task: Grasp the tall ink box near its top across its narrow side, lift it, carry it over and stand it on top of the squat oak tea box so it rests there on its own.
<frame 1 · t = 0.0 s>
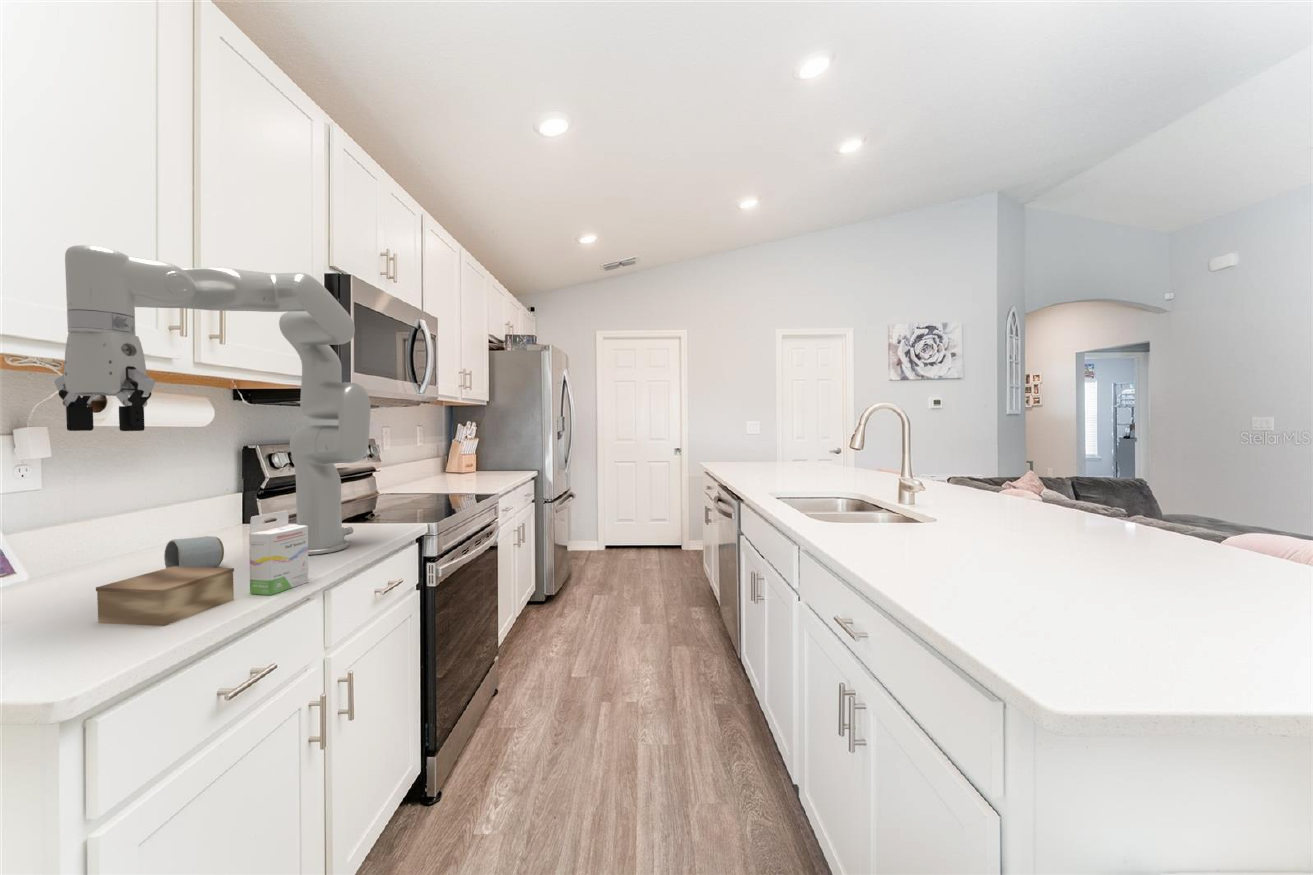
hand: (106, 430, 84), 31 cm above the countertop, fingers open, 9 cm apart
ink box: (280, 588, 100), on the countertop
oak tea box: (170, 612, 88), on the countertop
ceramic mug: (190, 571, 111), on the countertop
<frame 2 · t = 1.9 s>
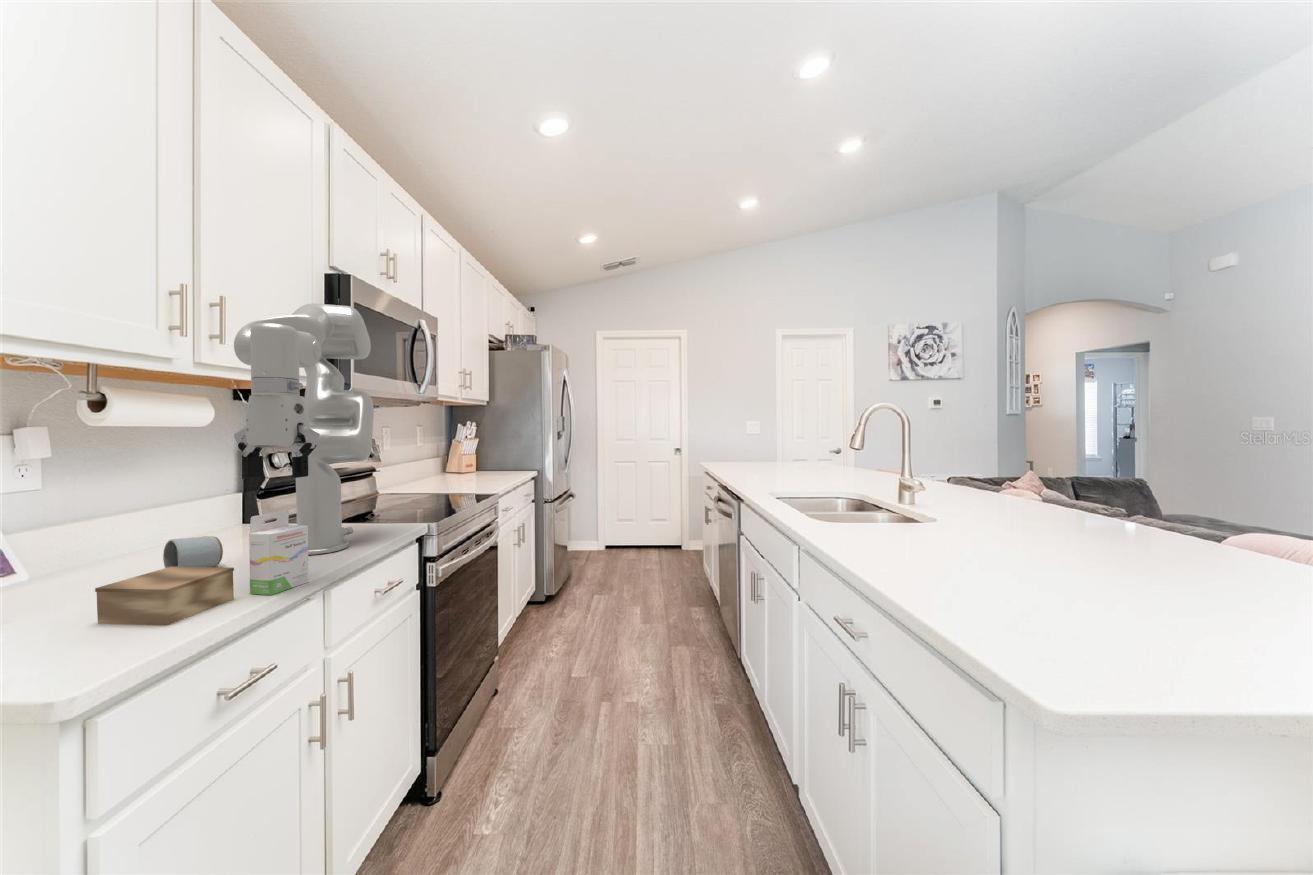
hand: (277, 476, 99), 22 cm above the countertop, fingers open, 9 cm apart
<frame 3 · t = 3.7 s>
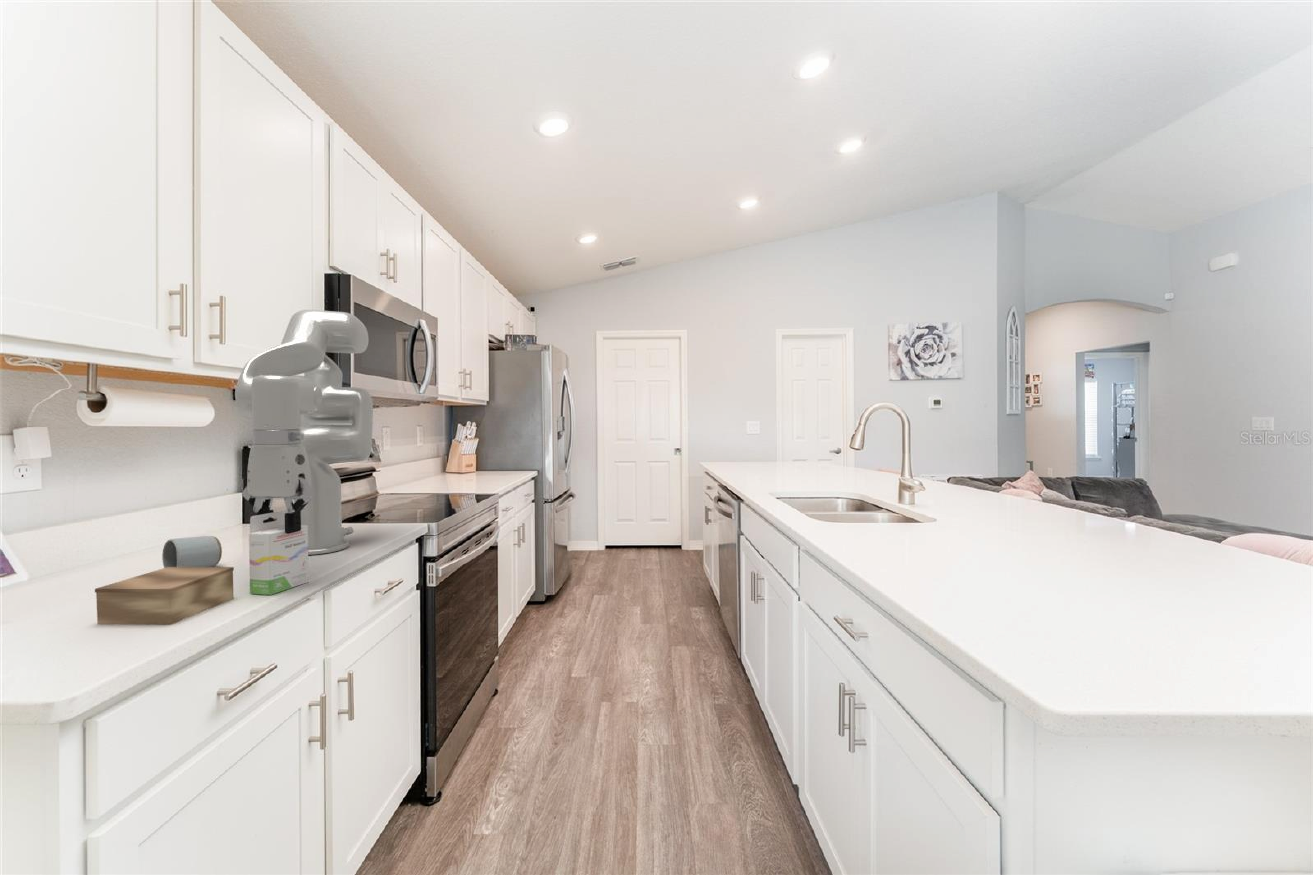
hand: (279, 530, 99), 11 cm above the countertop, fingers closed on ink box, 5 cm apart
ink box: (280, 588, 100), on the countertop, touching gripper
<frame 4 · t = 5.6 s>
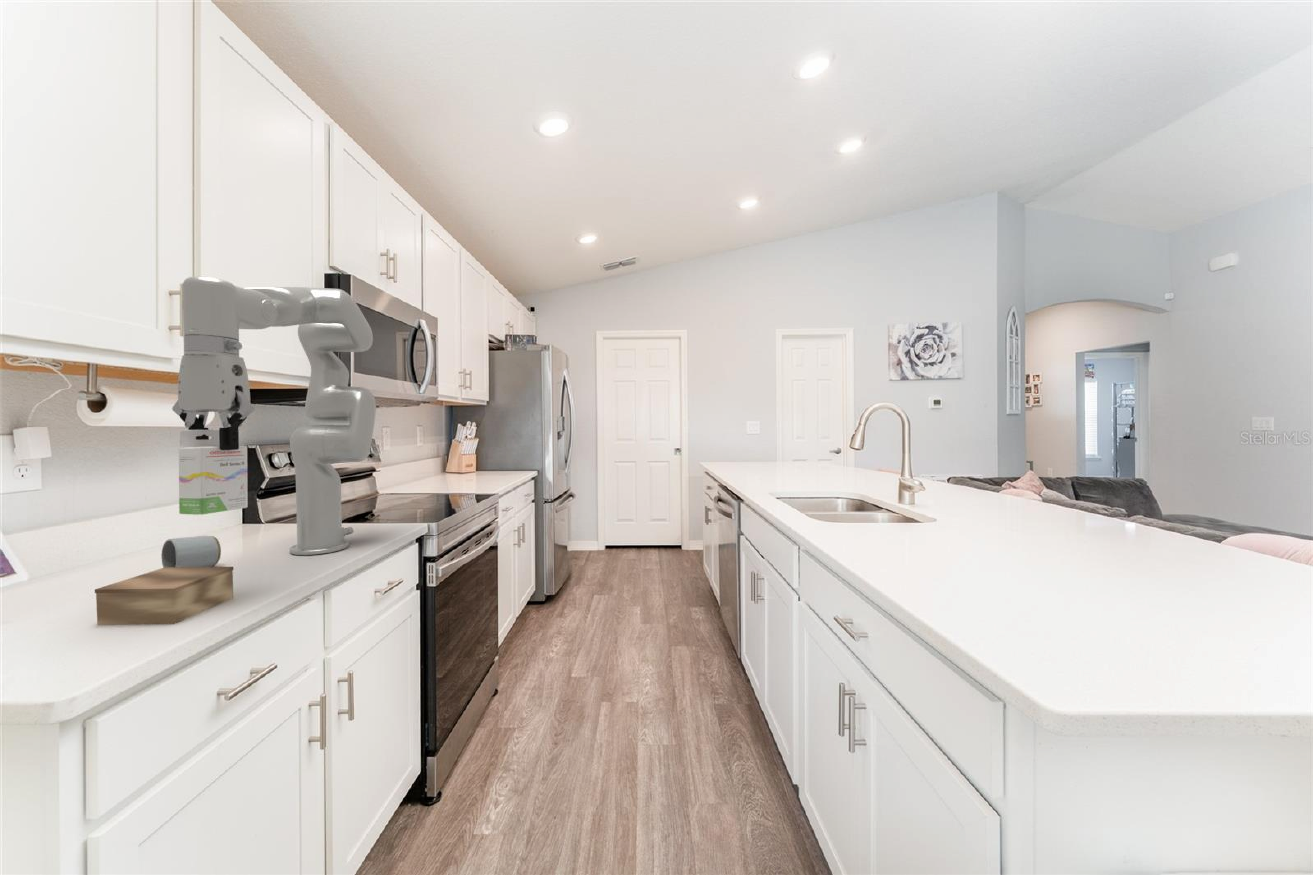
hand: (214, 448, 92), 28 cm above the countertop, fingers closed on ink box, 5 cm apart
ink box: (215, 512, 92), point 16 cm above the countertop, touching gripper
when the fingers open (18 cm above the countertop, at t = 7.6 s): ink box stays where it is, resting on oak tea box.
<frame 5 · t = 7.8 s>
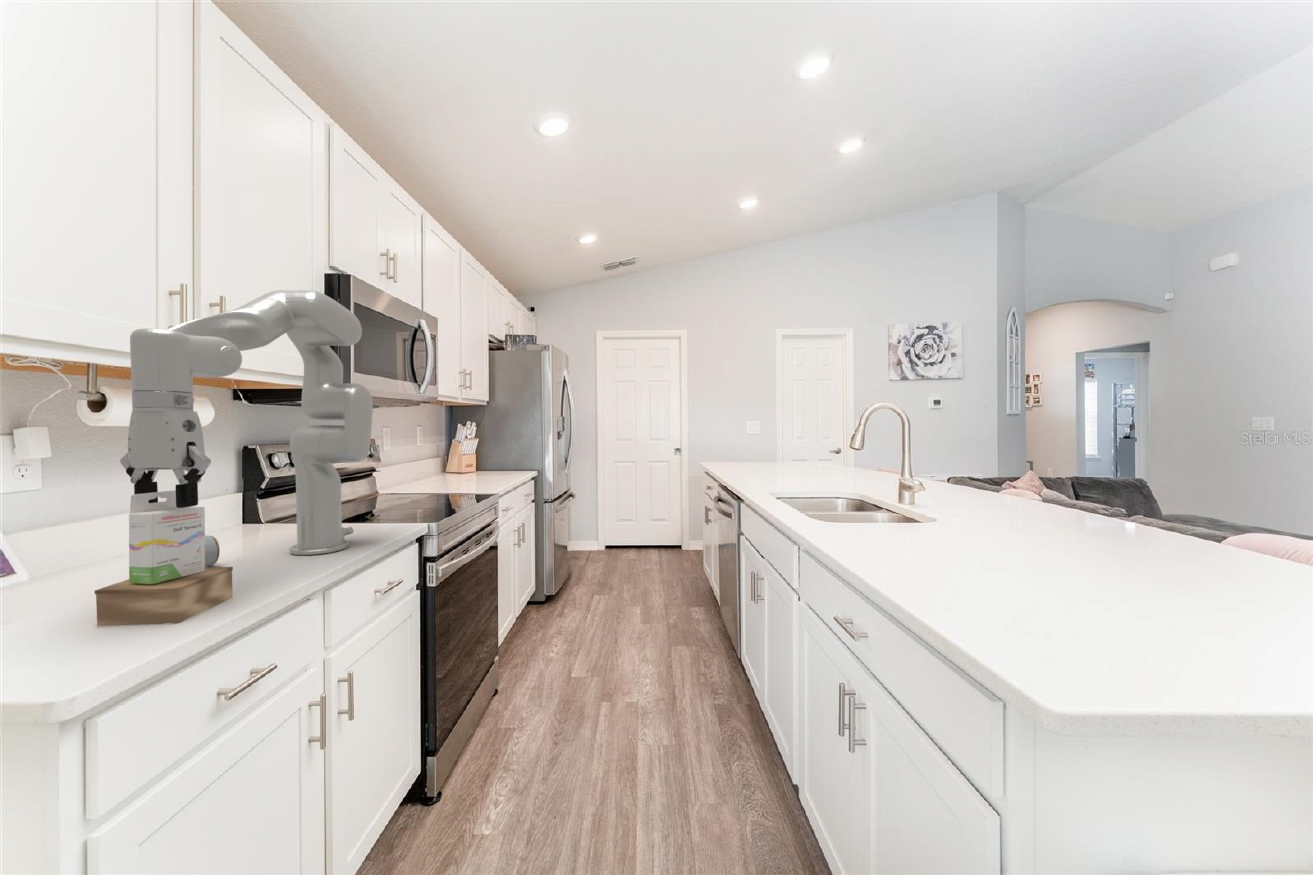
hand: (166, 505, 87), 18 cm above the countertop, fingers open, 7 cm apart
ink box: (169, 578, 88), point 6 cm above the countertop, touching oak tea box
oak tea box: (170, 612, 88), on the countertop, touching ink box
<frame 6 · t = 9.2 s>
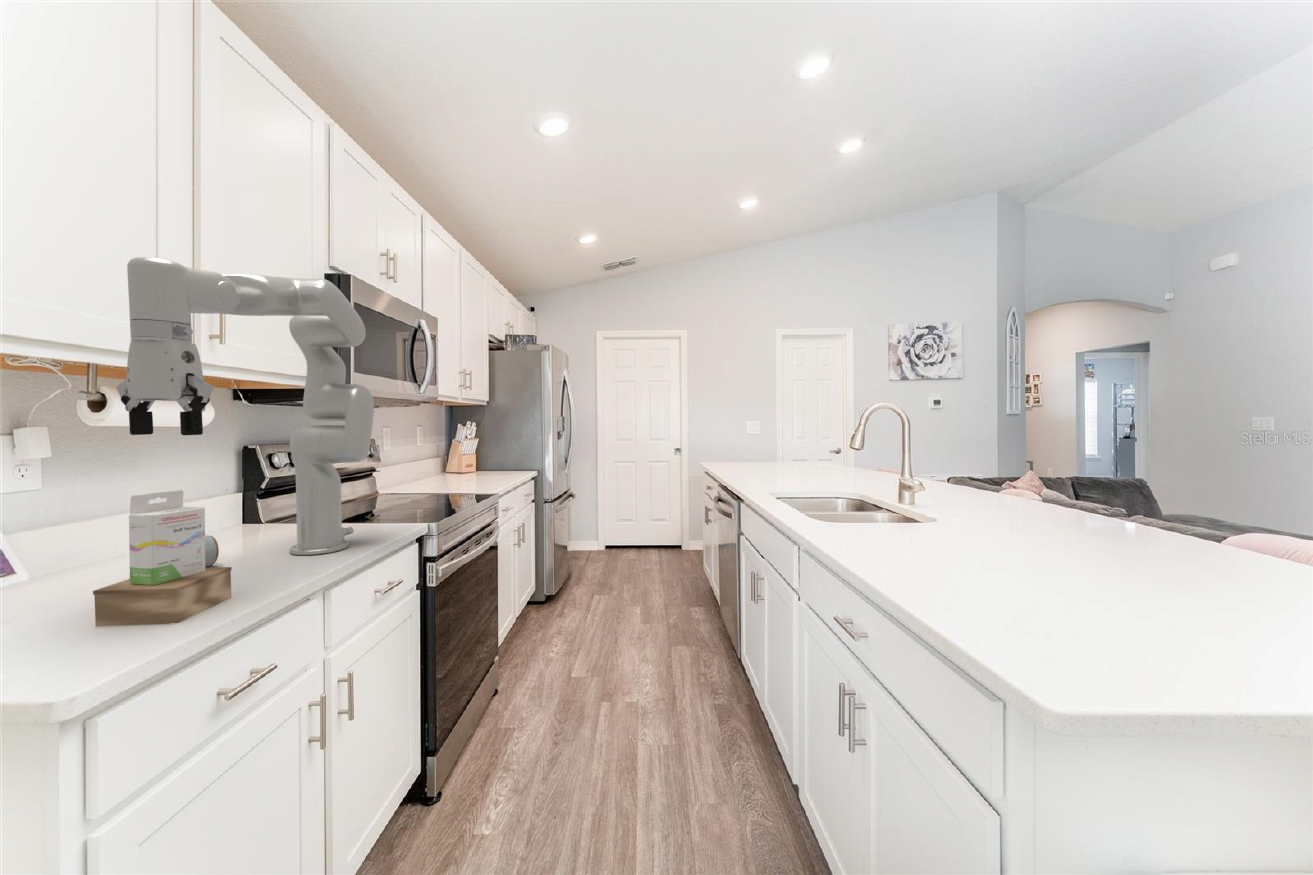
hand: (166, 434, 87), 30 cm above the countertop, fingers open, 9 cm apart
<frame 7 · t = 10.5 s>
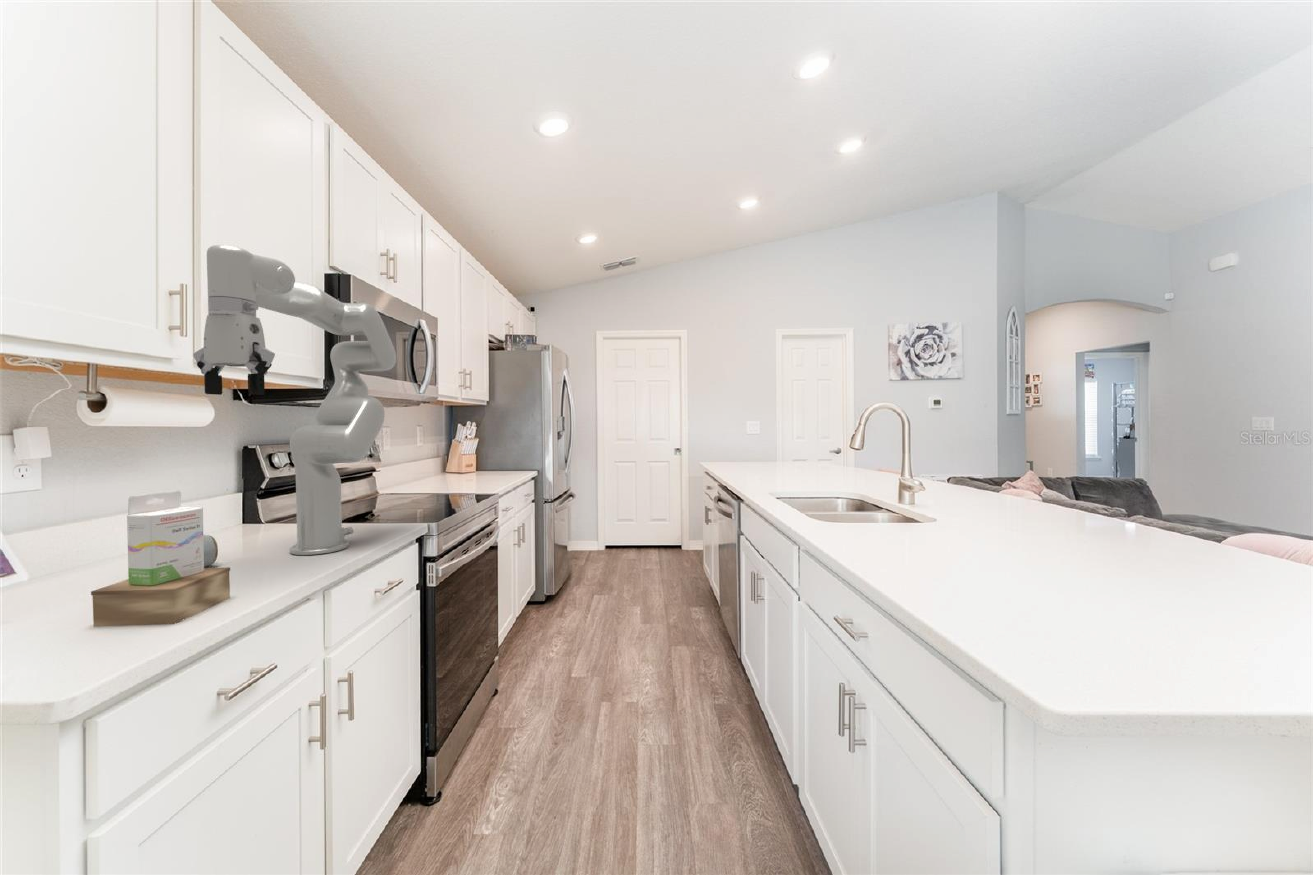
hand: (235, 394, 104), 38 cm above the countertop, fingers open, 9 cm apart
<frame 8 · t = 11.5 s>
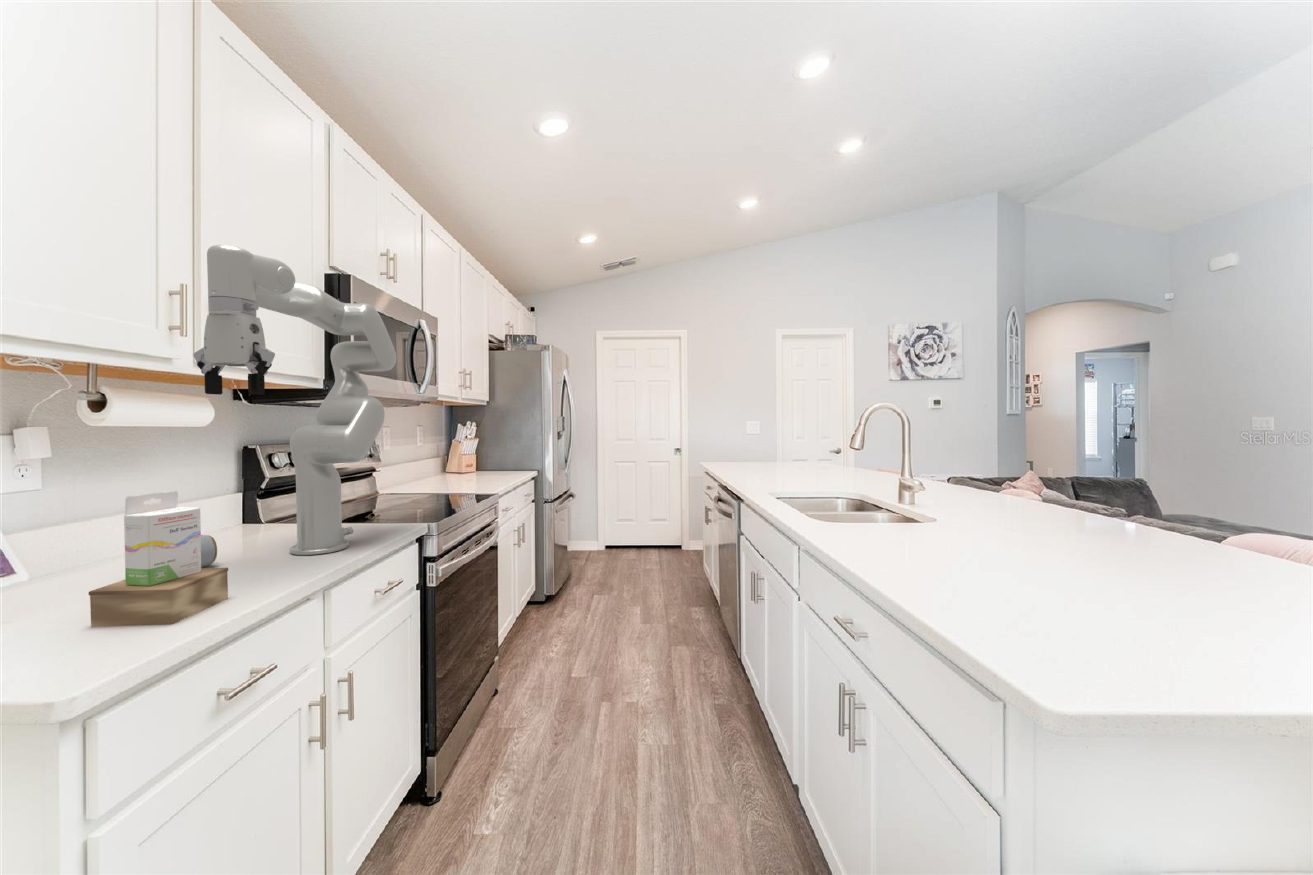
hand: (235, 394, 104), 38 cm above the countertop, fingers open, 9 cm apart
at the end: ink box inside the target area on the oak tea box (0.2 cm from its centre), point 5.9 cm above the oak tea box's base; ink box tilted 1°; the gripper is holding nothing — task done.
